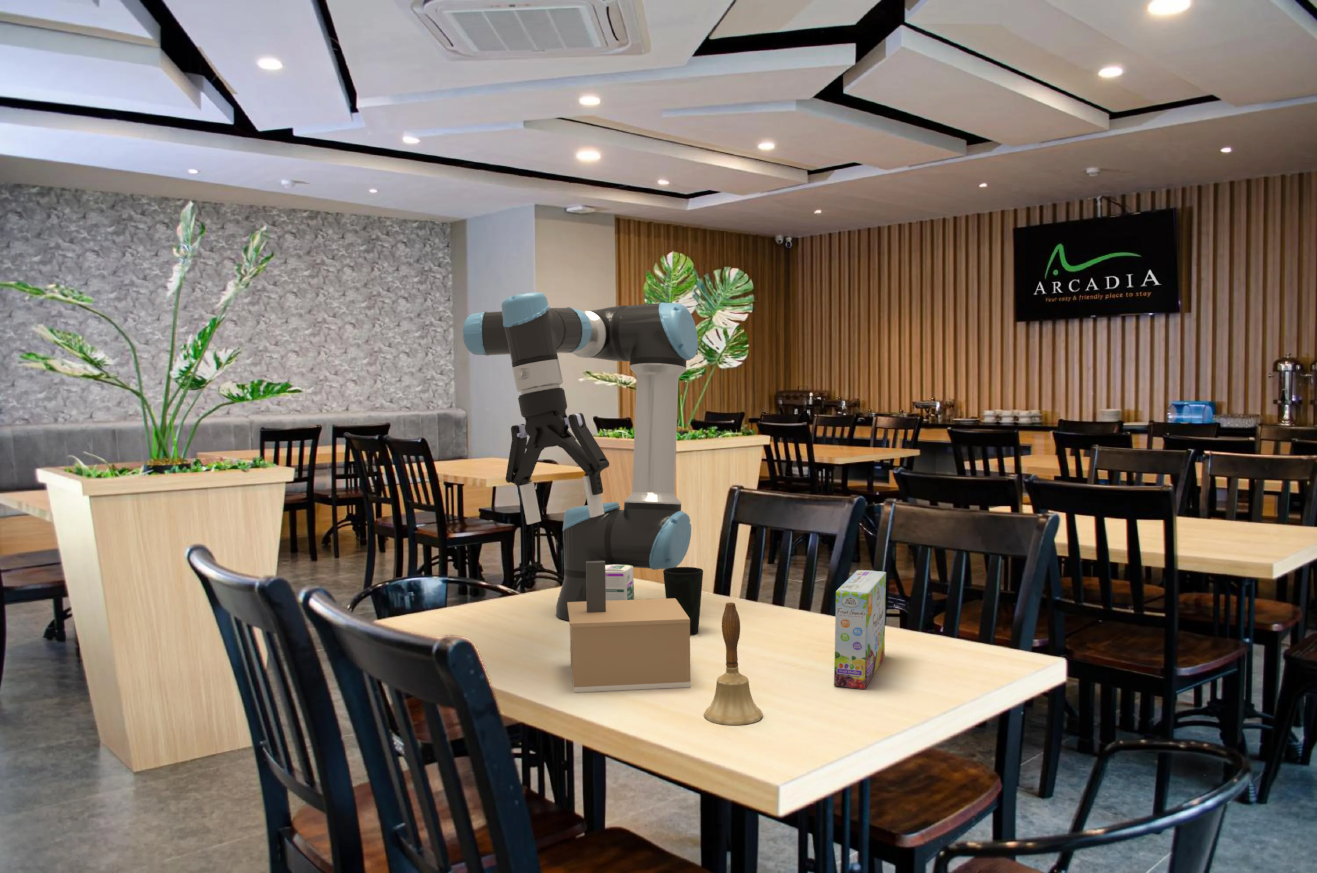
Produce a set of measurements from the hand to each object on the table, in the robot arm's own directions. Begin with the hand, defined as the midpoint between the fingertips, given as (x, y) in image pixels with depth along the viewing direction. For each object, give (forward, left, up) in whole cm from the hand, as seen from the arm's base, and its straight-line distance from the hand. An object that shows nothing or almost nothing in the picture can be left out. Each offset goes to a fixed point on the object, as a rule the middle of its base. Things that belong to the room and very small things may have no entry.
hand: (565, 519), depth 159 cm
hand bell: (-10, +32, -26) cm, 42 cm away
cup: (-32, -14, -26) cm, 43 cm away
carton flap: (-8, +6, -15) cm, 18 cm away
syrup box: (-16, -12, -26) cm, 33 cm away
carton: (-8, +6, -25) cm, 27 cm away
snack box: (-41, +25, -26) cm, 54 cm away
